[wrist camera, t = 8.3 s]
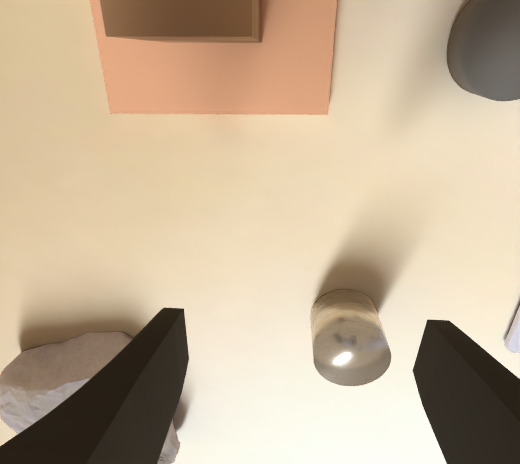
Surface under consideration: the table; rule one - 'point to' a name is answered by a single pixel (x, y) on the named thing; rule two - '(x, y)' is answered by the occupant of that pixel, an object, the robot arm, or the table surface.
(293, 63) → the terracotta tile
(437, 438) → the robot arm
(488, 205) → the table surface
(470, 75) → the black rubber puck
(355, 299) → the brushed metal tin
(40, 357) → the stone block
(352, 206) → the table surface
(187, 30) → the walnut block
